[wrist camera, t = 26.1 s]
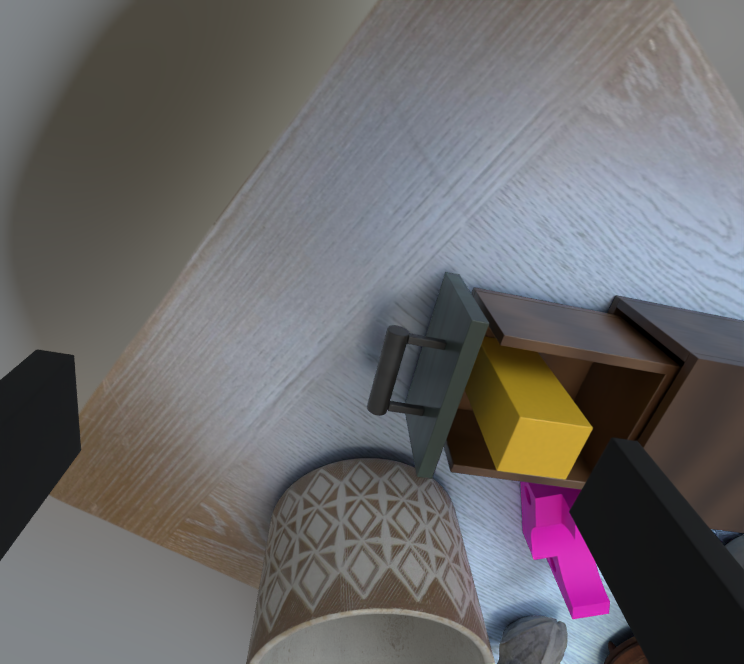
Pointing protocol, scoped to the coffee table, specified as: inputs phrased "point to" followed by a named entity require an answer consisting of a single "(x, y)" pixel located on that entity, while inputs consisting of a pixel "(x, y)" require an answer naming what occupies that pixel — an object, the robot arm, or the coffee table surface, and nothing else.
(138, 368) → the coffee table surface
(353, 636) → the planter
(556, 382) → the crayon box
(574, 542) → the toy block
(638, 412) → the drawer
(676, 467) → the cabinet
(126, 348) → the coffee table surface
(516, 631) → the fossil
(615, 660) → the brown rounded piece
